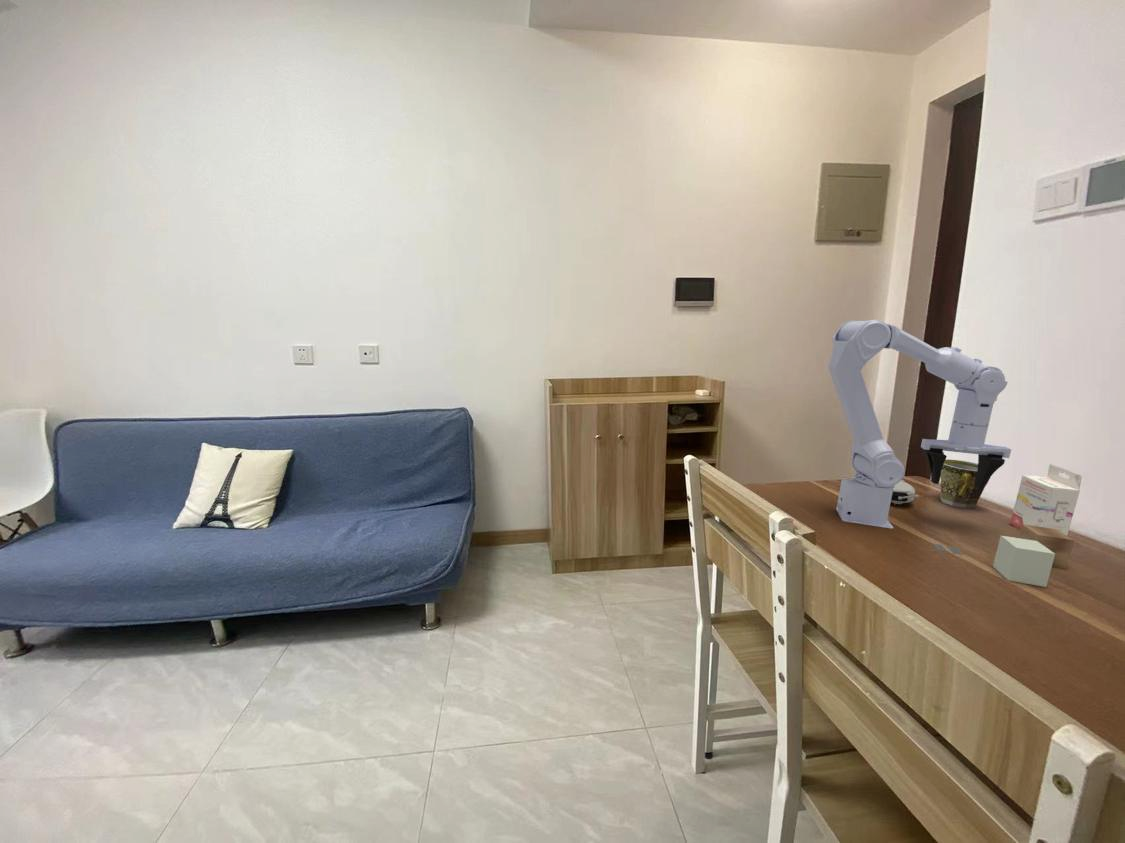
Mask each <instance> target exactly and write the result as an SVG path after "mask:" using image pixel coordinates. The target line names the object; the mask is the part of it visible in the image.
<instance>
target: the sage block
mask: <svg viewBox="0 0 1125 843" xmlns="http://www.w3.org/2000/svg"><path fill="white" fill-rule="evenodd" d="M995 552H996V553H995V557H994V560H993V565H992V567H993V568H994V569H995V570H996V571H997V572H998V573H999V574H1001V576H1002V577H1004V578H1005V579H1006V580H1007V581H1008V582H1015V583H1019V584H1027V585H1033V586H1036V587H1037V586H1038V587H1042V588H1047V585H1048V582H1049V578H1050V574H1051V571H1052V564H1053V560H1054V557H1055V553H1053V552H1052V551H1051V550H1049V549H1048V548H1046V547H1045V546H1043V545H1042V544H1041V543H1039V542H1038V541H1034V540H1027V539H1021V538H1019V537H1013V536H1008V535H1007V536H1006V535H1000V537H999V540H998V545H997V550H996V551H995Z"/></svg>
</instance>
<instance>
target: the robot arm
mask: <svg viewBox="0 0 1125 843" xmlns="http://www.w3.org/2000/svg"><path fill="white" fill-rule="evenodd" d="M831 340H832V344H833V346H832V351H831V356H830V359H829V366H828V368H829V369H828V370H829V373H830V376H831V379H832V382H833V385H834V388H835V391H836V394H837V397H838V399H839V402H840V405H841V408H842V412H843V414H844V416H845V420H846V422H847V425H848V428H849V431H850V433H851V437H852V440H853V442H854V443H853V444H852V445H851V447H850V449H851V453H852V454H851V456H852V457H851V461H850V462H851V467H852V469H854V471H855V473H854V478H850V479H849V478H842V479H841V480H842V482H841V483H840V485H839V486H840V487H839V493H838V496H837V497H838V500H837V505H836V508H835V510H836V511H837V513H838V516H839V517H840V519H841V521H842V522H845V523H846V522H847V523H853V524H861V525H866V526H873V527H879V528H887V529H894V526H893V525H892V523H891V522H890V520H889V519H888V518H889V513H890V508H891V507H890V506H891V504H892V503H891V498H892V493H893V488H895V485H896V484H897V483H899V482H900V481H901V480H903V478H904V476H905V466H904V464H903V463H902V461H901V460H899V459H898V458H897V456H896V455H895V452H894V450H893V449H892V447H891V446H890V445H889V444H888V442H887V441H886V440H885V439H884V436H883V433H882V431H881V427H880V424H879V421H878V417H877V416H876V412H875V410H874V406H873V404H872V401H871V398H870V394H869V391H868V389H867V385H866V382H865V380H864V377H863V373H862V370H863V368H864V366H866V364H867V363H868V362H869V361H870V360H871V359H872V358H874V357H875V356H876V355H877V354H879V352H881V351H882V350H883V349H892V350H894V351H897V352H899V353H901V354H904V355H905V356H908V357H910V358H913V359H915V360H917V361H920V362H921V363H924V366H925V370H926V371H927V373H930V374H931V375H934V376H936V377H938V378H940V379H942V380H944V381H946V382H948V383H950V384H953V385H954V386H953V387H954V388H955V389H957V390H958V392H957V393H958V394H957V397H956V402H955V405H954V406H955V407H954V412H953V417H952V421H951V426H950V430H949V434H948V435H949V436H948V439H931V438H930V439H928V438H922V440H921V445H920V448H922V449H923V451H924V453H925V456H926V459H927V460H928V464H929V470H930V471H929V472H930V482H931V483H933V484H934V485H939V483H940V482H941V478H940V476H941V470H942V467H943V464H944V462H945V459H947V457H948V456H947V455H946V454H945V453H944V452H953V453H963V454H971V455H972V454H973V455H978V459H977V461H978V462H977V464H978V470H977V474H976V478H975V483H974V487H976V488H977V489H980V490H983V488H984V486H985V484H986V483H987V481H988V480H989V481H990V479H991V477H992V476H993V474H994V473H996V471H998V469H1000V468H1001V467H1002V466H1003V465H1004V464H1005V462H1006V459H1010V457H1011V452H1012V448H1010V447H1007V446H1001V445H1000V446H999V445H992V444H986V443H985V442H986V439H987V433H988V429H989V426H990V420H991V415H992V411H993V409H994V408H993V407H994V404H995V402H997V400H998V396H999V395H1000V393H1002V392H1003V391H1004V390H1005V388H1006V387H1007V385H1008V381H1006V376H1005V374H1004V373H1003V370H1001V368H999V367H996V366H988V365H984V364H983V360H981V359H979V358H972V357H969V356H967V355H966V354H963V353H961V352H962V349H961V348H959V347H956V346H955V347H954V346H950V347H948V346H945V347H940V348H936V347H934V346H931V345H930V344H928V343H926V342H925V341H922V340H921V339H919V338H917V337H916V336H914V335H912V334H910V333H908V332H906V331H905V330H903V329H901V328H899V327H897V326H896V325H894V324H888V323H886V322H885V321H883V320H881V319H871V320H870V319H869V320H856V319H855V320H849V321H846V322H844V323H843V324H841V325H840V326H839V328H838V329H837V330H836V332H835V333H834V335H833V336H832V338H831ZM1004 458H1005V459H1004ZM989 478H990V479H989ZM989 481H988V482H989ZM987 484H988V483H987ZM985 487H986V486H985ZM984 489H985V488H984ZM983 491H984V490H983Z"/></svg>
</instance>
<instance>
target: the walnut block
mask: <svg viewBox="0 0 1125 843" xmlns="http://www.w3.org/2000/svg"><path fill="white" fill-rule="evenodd" d="M1018 538H1021V539H1027V540H1034V541H1038V542H1039V543H1041V544H1042V545H1043V546H1045V547H1046V548H1048V549H1049V550H1051V551H1052V552H1053V553H1055V557H1054V560H1053V564H1052V567H1053V568H1054V567H1055V568H1058V569H1059V568H1060V569H1066V568H1067V566H1068V563H1069V559H1070V555H1071V552H1072V548H1073V545H1074V540H1075V539H1073V538H1072V537H1069V535H1065V534H1063V533H1062V532H1060V531H1059V530H1057V529H1052V528H1045V527H1039V526H1032V525H1025V524H1022V527H1021V529H1020V531H1019V535H1018ZM1052 567H1051V568H1052Z"/></svg>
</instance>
